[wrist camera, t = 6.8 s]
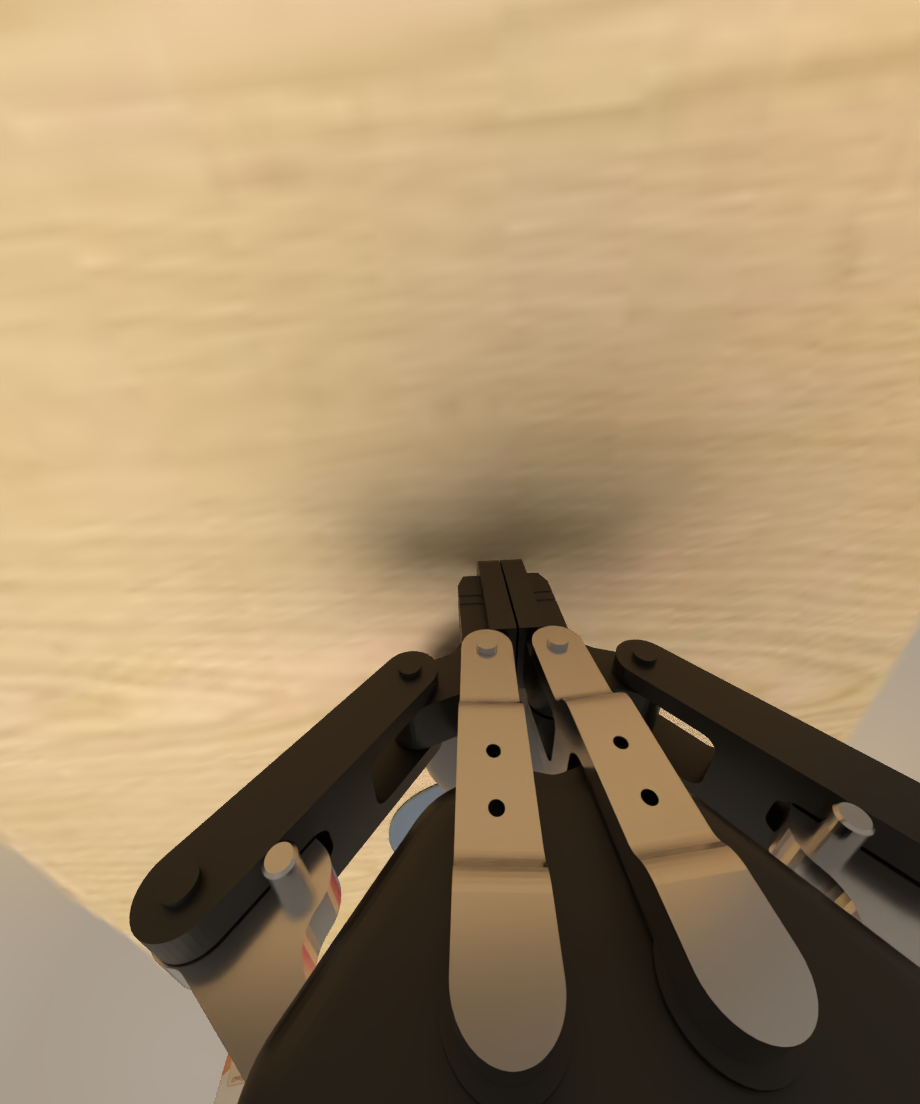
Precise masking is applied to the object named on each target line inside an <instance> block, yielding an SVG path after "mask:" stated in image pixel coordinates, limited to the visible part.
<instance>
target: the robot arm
mask: <svg viewBox="0 0 920 1104" xmlns="http://www.w3.org/2000/svg"><path fill="white" fill-rule="evenodd" d="M458 603H459V626H460V639H461V644H460V646H459V647H458V648H457V649H456V650H455V651H454V652H453V653H451V654H450V655H448V656H445V657H443V658H440V659H437V660H434V659H433V658H432V657H431V656H429V655H428V654H426V653H423V652H418V651H409V652H404V653H401V654H398V655H396V656H395V657H393V658H392V659H390V660H389V661H388V662H387V663H386V664H385V665H384V666H382V667H381V668H380V669H379V670H378V671H377V672H375V673H374V674H373V675H372V676H371V677H370V678H369V679H367V680H366V681H365V682H364V683H363V684H362V685H361V686H359V687H358V688H357V689H356V690H355V691H354V692H353V693H351V694H350V695H349V696H348V697H347V698H346V699H345V700H343V701H342V702H341V703H340V704H339V705H338V706H337V707H335V708H334V709H333V710H332V711H331V712H330V713H328V714H327V715H326V716H325V717H324V718H323V719H322V720H320V721H319V722H318V723H317V724H316V725H315V726H314V727H312V728H311V729H310V730H309V731H308V732H307V733H306V734H304V735H303V736H302V737H301V738H300V739H299V740H298V741H296V742H295V743H294V744H293V745H292V746H291V747H290V748H288V749H287V750H286V751H285V752H284V753H283V754H281V755H280V756H279V757H278V758H277V759H276V760H275V761H273V762H272V763H271V764H270V765H269V766H268V767H267V768H265V769H264V770H263V771H262V772H261V773H260V774H259V775H257V776H256V777H255V778H254V779H253V780H252V781H251V782H249V783H248V784H247V785H246V786H245V787H244V788H242V789H241V790H240V791H239V792H238V793H237V794H236V795H234V796H233V797H232V798H231V799H230V800H229V801H228V802H226V803H225V804H224V805H223V806H222V807H221V808H220V809H218V810H217V811H216V812H215V813H214V814H213V815H212V816H210V817H209V818H208V819H207V820H206V821H205V822H204V823H202V824H201V825H200V826H199V827H198V828H197V829H195V830H194V831H193V832H192V833H191V834H190V835H189V836H187V837H186V838H185V839H184V840H183V841H182V842H181V843H179V844H178V845H177V846H176V847H175V848H174V849H173V850H171V851H170V852H169V853H168V854H167V855H166V856H165V857H163V858H162V859H161V860H160V861H159V862H158V863H157V864H156V865H155V866H154V867H153V868H152V870H151V871H150V872H149V873H148V875H147V876H146V877H145V879H144V880H143V882H142V883H141V885H140V887H139V888H138V890H137V892H136V895H135V897H134V899H133V902H132V905H131V910H130V927H131V931H132V933H133V935H134V936H135V937H136V938H137V939H138V940H139V941H140V942H141V943H142V944H143V945H144V946H145V947H147V948H148V949H149V950H150V951H151V953H152V956H153V958H154V959H155V961H156V962H157V963H158V964H159V965H160V966H161V967H162V968H164V969H165V970H166V971H167V972H168V973H169V974H170V975H171V976H172V977H173V978H175V979H176V980H177V981H178V982H179V983H180V984H181V985H182V986H183V987H185V988H187V989H189V990H192V992H193V994H194V996H195V997H196V999H197V1001H198V1002H199V1004H200V1006H201V1008H202V1009H203V1011H204V1013H205V1014H206V1016H207V1018H208V1020H209V1021H210V1023H211V1025H212V1026H213V1028H214V1030H215V1031H216V1033H217V1035H218V1037H219V1038H220V1040H221V1042H222V1044H223V1045H224V1047H225V1048H226V1050H227V1052H228V1054H229V1056H230V1057H231V1059H232V1061H233V1062H234V1064H235V1066H236V1068H237V1069H238V1071H239V1073H240V1074H241V1076H242V1078H243V1079H244V1081H245V1084H244V1086H243V1089H242V1092H241V1094H240V1097H239V1100H238V1103H237V1104H920V783H919V782H917V781H915V780H913V779H911V778H909V777H907V776H906V775H904V774H902V773H900V772H898V771H896V770H894V769H892V768H890V767H888V766H886V765H884V764H883V763H881V762H879V761H877V760H875V759H873V758H871V757H869V756H867V755H865V754H863V753H862V752H859V751H858V750H856V749H854V748H852V747H850V746H848V745H846V744H844V743H843V742H841V741H839V740H837V739H835V738H833V737H831V736H829V735H827V734H825V733H823V732H822V731H820V730H818V729H816V728H814V727H812V726H810V725H808V724H806V723H804V722H802V721H801V720H799V719H797V718H795V717H793V716H791V715H789V714H787V713H785V712H783V711H781V710H780V709H778V708H776V707H774V706H772V705H770V704H768V703H766V702H764V701H762V700H760V699H759V698H757V697H755V696H753V695H751V694H749V693H747V692H745V691H743V690H741V689H739V688H738V687H736V686H734V685H732V684H730V683H728V682H726V681H724V680H722V679H720V678H718V677H717V676H715V675H713V674H711V673H709V672H707V671H705V670H703V669H701V668H699V667H697V666H696V665H694V664H692V663H690V662H688V661H686V660H684V659H682V658H680V657H678V656H676V655H675V654H673V653H671V652H669V651H667V650H665V649H663V648H661V647H659V646H657V645H655V644H653V643H650V642H647V641H643V640H628V641H624V642H622V643H621V644H619V646H618V647H617V649H616V652H614V651H608V650H602V649H597V648H593V647H590V646H587V645H585V644H584V642H583V641H582V639H581V638H580V636H579V635H578V634H576V633H575V632H574V631H572V630H570V629H568V627H567V625H566V623H565V621H564V618H563V616H562V614H561V611H560V609H559V607H558V604H557V602H556V601H555V597H554V595H553V593H552V590H551V588H550V586H549V583H548V581H547V580H546V579H544V578H543V577H542V576H541V575H540V574H538V573H526V570H525V567H524V564H523V562H522V560H521V559H517V560H500V562H499V561H478V562H477V576H466V577H463V578H462V580H461V581H460V583H459V585H458ZM521 688H525V689H526V694H527V705H526V710H527V714H528V717H529V721H530V724H531V727H532V730H533V733H534V736H535V739H536V742H537V745H538V748H539V751H540V754H541V758H542V761H543V764H544V767H545V770H546V774H545V773H540V772H535V771H533V769H532V761H531V754H530V747H529V740H528V732H527V725H526V718H525V711H524V705H523V702H522V701H520V700H519V693H518V689H521ZM660 708H662V709H664V710H666V711H667V712H669V713H670V714H672V715H674V716H675V717H677V718H678V719H680V720H682V721H683V722H685V723H686V724H688V725H690V726H691V727H693V728H694V729H696V730H698V731H699V732H701V733H702V734H704V735H705V736H706V737H708V738H709V740H710V741H711V742H712V743H713V745H714V748H713V747H710V746H708V745H707V744H705V743H703V742H702V741H700V740H699V739H697V738H695V737H694V736H692V735H691V734H689V733H688V732H686V731H685V730H683V729H681V728H680V727H678V726H677V725H675V724H674V723H672V722H670V721H669V720H667V719H666V718H664V717H663V716H661V715H659V711H660ZM456 736H458V741H457V773H456V787H454V788H453V789H451V790H449V791H447V792H445V793H444V794H442V795H441V796H439V797H438V798H436V799H435V800H434V801H433V802H432V803H431V804H430V805H428V807H427V808H426V809H425V810H424V811H423V812H422V813H421V814H420V816H419V817H418V818H417V820H416V821H415V823H414V824H413V826H412V827H411V828H410V830H409V831H408V833H407V834H406V836H405V837H404V839H403V840H402V842H401V843H400V845H399V846H398V847H397V849H396V850H395V852H394V853H393V855H392V856H391V858H390V859H389V861H388V862H387V864H386V865H385V866H384V868H383V869H382V871H381V872H380V874H379V875H378V877H377V878H376V880H375V881H374V882H373V884H372V885H371V887H370V888H369V890H368V891H367V893H366V894H365V896H364V897H363V899H362V900H361V901H360V903H359V904H358V906H357V907H356V909H355V910H354V912H353V913H352V915H351V916H350V918H349V919H348V920H347V922H346V923H345V925H344V926H343V928H342V929H341V931H340V932H339V934H338V935H337V937H336V938H335V939H334V941H333V942H332V944H331V945H330V947H329V948H328V950H327V951H326V953H325V954H324V955H323V957H322V958H321V960H320V961H319V963H318V964H317V960H318V955H319V952H320V949H321V946H322V944H323V942H324V940H325V938H326V936H327V934H328V933H329V931H330V929H331V927H332V926H333V924H334V922H335V920H336V917H337V915H338V912H339V908H340V903H341V887H340V883H339V880H338V876H339V875H340V874H341V872H342V871H343V870H344V869H345V867H346V866H347V865H348V864H349V862H350V861H351V860H352V858H353V857H354V856H355V855H356V853H357V852H358V851H359V850H360V848H361V847H362V846H363V845H364V843H365V842H366V841H367V840H368V838H369V837H370V836H371V835H372V833H373V832H374V831H375V830H376V828H377V827H378V826H379V825H380V823H381V822H382V821H383V820H384V818H385V817H386V816H387V815H388V813H389V812H390V811H391V810H392V808H393V807H394V806H395V805H396V803H397V802H398V801H399V800H400V798H401V797H402V796H403V795H404V793H405V792H406V791H407V790H408V788H409V787H410V786H411V785H412V783H413V782H414V781H415V780H416V778H417V777H418V776H419V775H420V773H421V772H422V771H423V770H424V768H425V767H426V766H427V765H428V763H429V762H430V761H431V760H432V758H433V757H434V756H435V755H436V753H437V752H438V751H439V749H440V747H441V744H442V742H444V741H446V740H449V739H451V738H454V737H456ZM316 965H317V966H316Z"/></svg>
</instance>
